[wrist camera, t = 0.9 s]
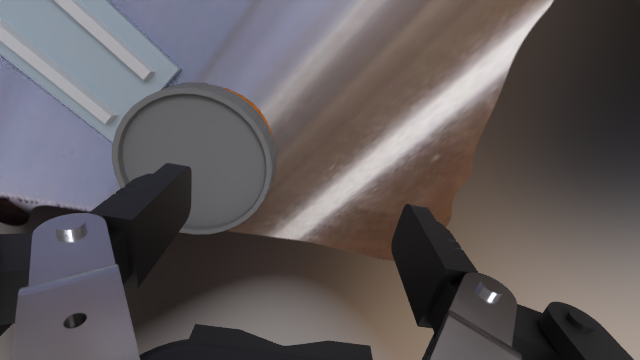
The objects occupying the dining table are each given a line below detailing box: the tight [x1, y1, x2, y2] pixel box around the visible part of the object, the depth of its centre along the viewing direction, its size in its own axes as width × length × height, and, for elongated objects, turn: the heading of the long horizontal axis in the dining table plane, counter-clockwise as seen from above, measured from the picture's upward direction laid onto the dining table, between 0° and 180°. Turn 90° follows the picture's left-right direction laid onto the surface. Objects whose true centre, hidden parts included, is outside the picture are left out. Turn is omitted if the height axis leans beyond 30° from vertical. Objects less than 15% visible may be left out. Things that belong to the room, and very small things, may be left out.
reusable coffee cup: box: [112, 83, 276, 234], centre depth 30 cm, size 13×13×15 cm
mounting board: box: [0, 0, 182, 142], centre depth 31 cm, size 20×12×2 cm, turn 43°
